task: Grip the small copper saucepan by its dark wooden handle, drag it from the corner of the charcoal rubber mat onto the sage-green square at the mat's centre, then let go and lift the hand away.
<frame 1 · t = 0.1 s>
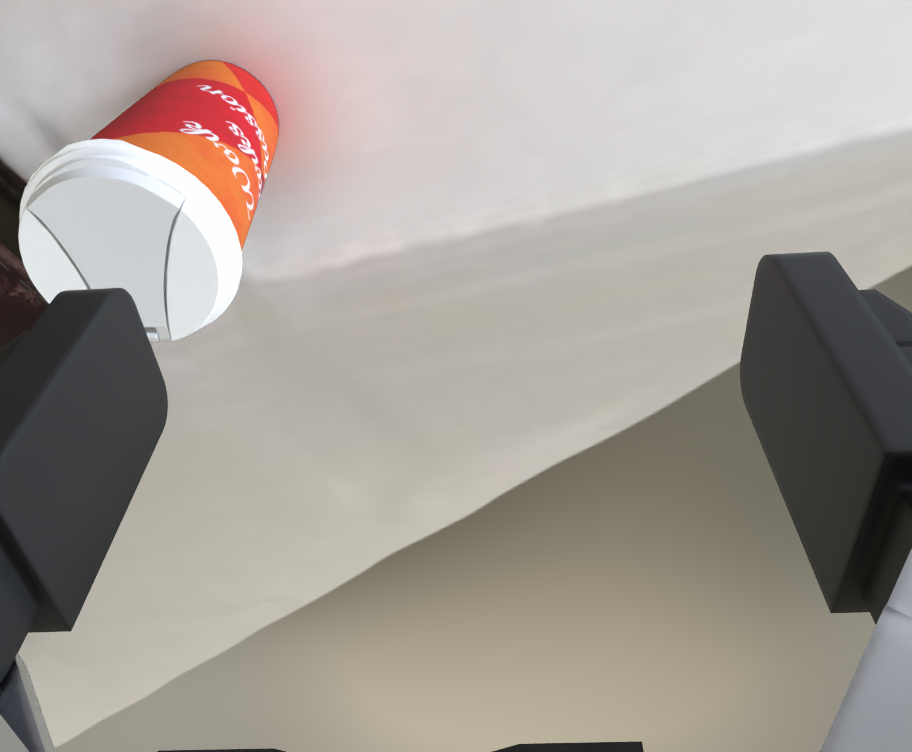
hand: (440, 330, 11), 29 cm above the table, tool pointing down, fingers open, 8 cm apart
paper cup: (222, 116, 39), on the table
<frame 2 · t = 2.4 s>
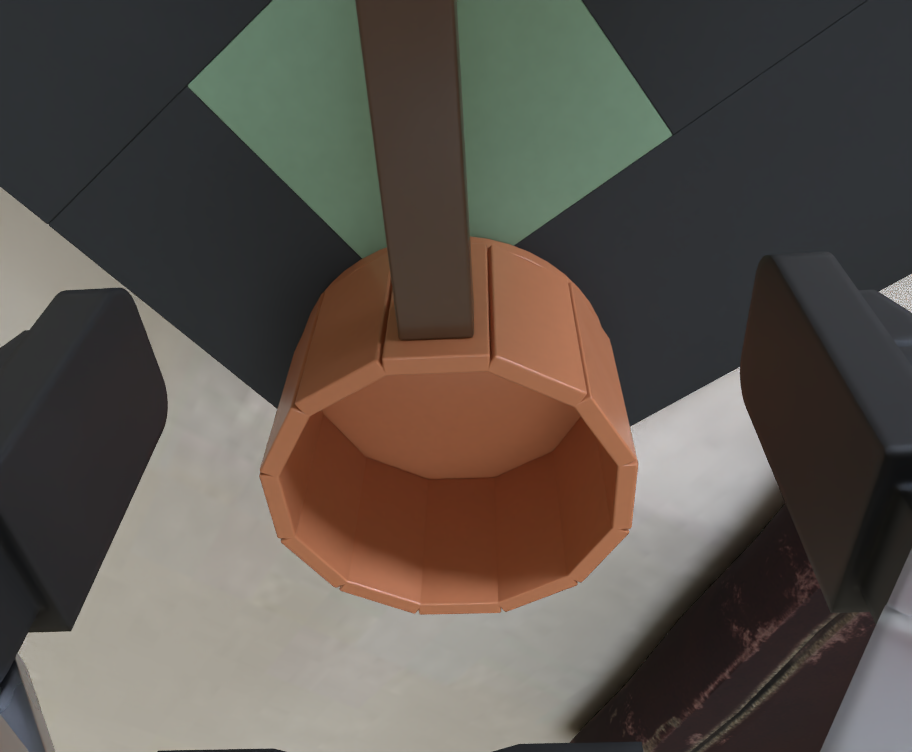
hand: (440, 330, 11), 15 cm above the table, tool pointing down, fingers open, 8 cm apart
saucepan: (453, 370, 29), resting on placemat
placemat: (433, 106, 24), on the table
diary: (834, 641, 40), on the table
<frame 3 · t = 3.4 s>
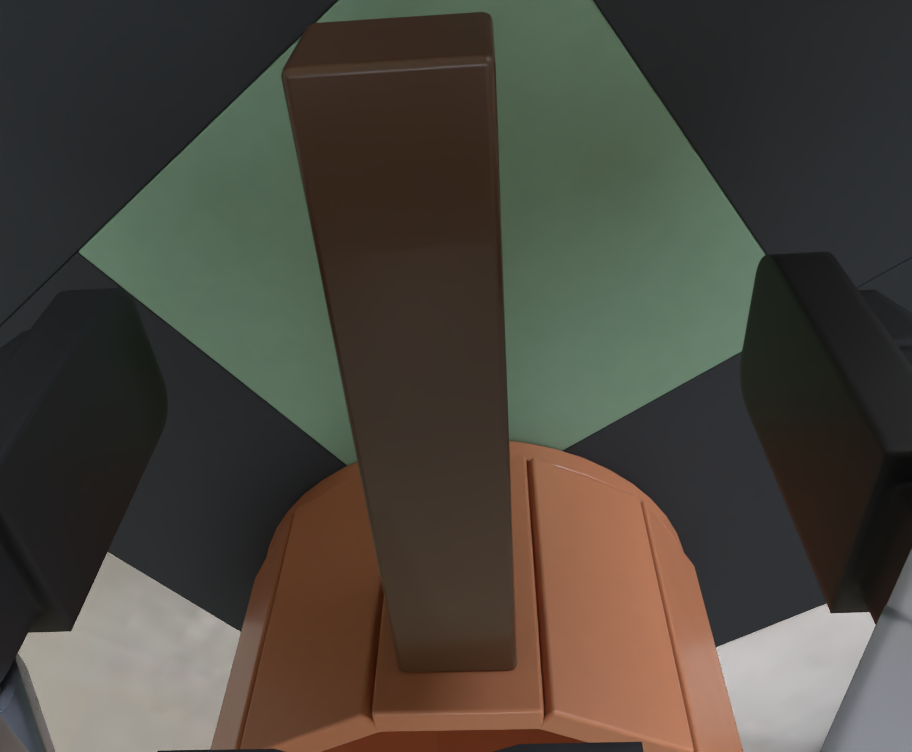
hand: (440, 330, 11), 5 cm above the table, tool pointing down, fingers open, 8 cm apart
saucepan: (474, 589, 21), resting on placemat
placemat: (449, 274, 16), on the table
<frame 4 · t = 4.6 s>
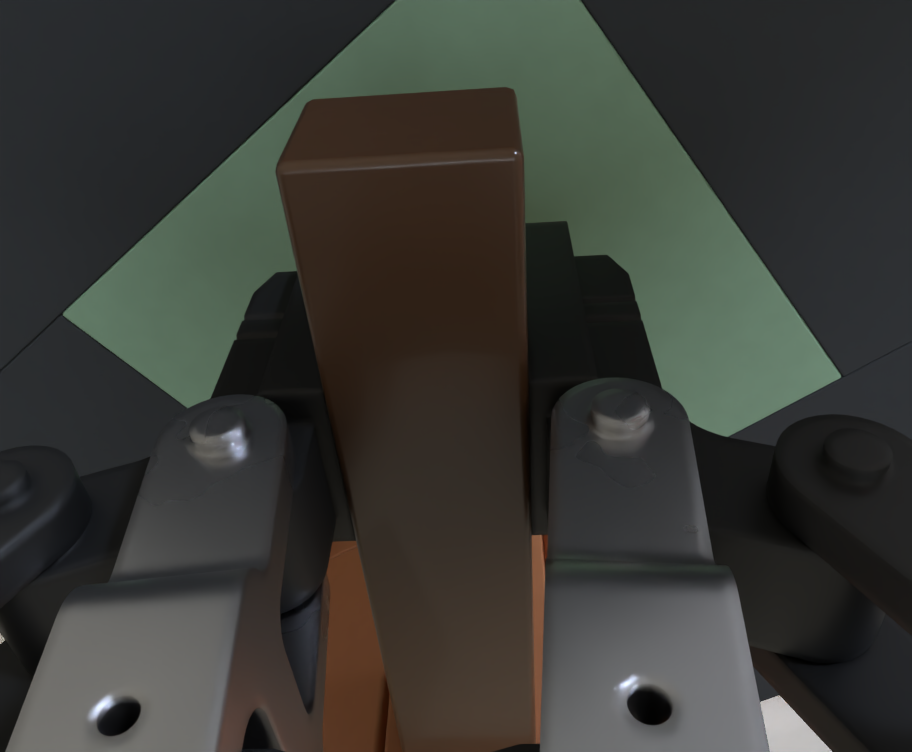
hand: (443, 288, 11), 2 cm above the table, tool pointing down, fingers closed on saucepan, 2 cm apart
saucepan: (485, 653, 20), resting on placemat, touching gripper
placemat: (459, 334, 15), on the table
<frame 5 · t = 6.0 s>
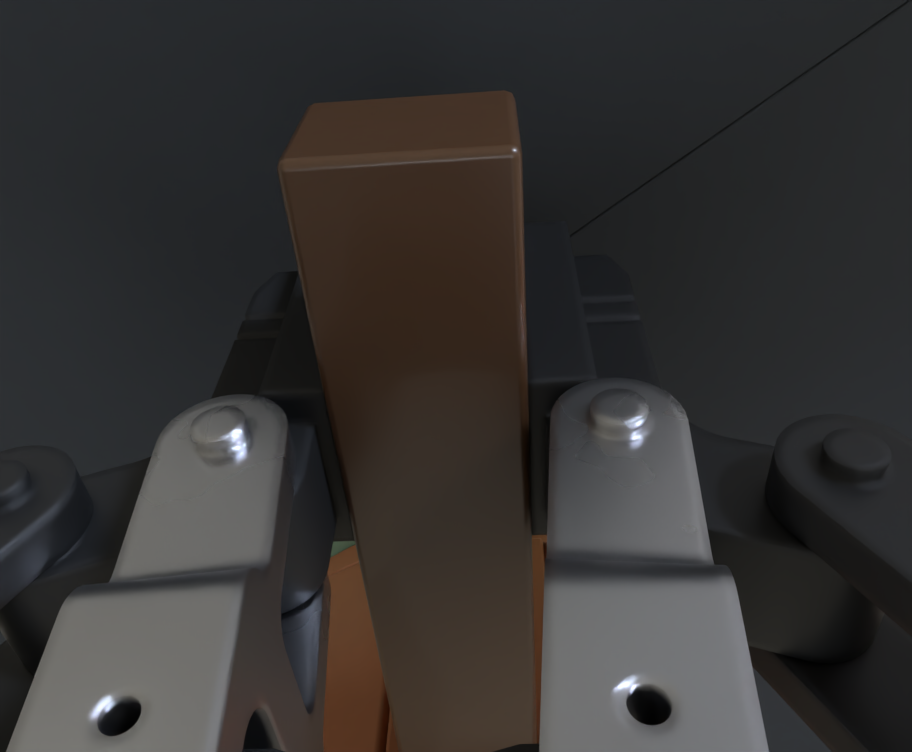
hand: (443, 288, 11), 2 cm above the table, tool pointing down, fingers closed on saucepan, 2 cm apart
saucepan: (486, 673, 20), point 1 cm above the table, touching gripper
placemat: (466, 544, 18), on the table
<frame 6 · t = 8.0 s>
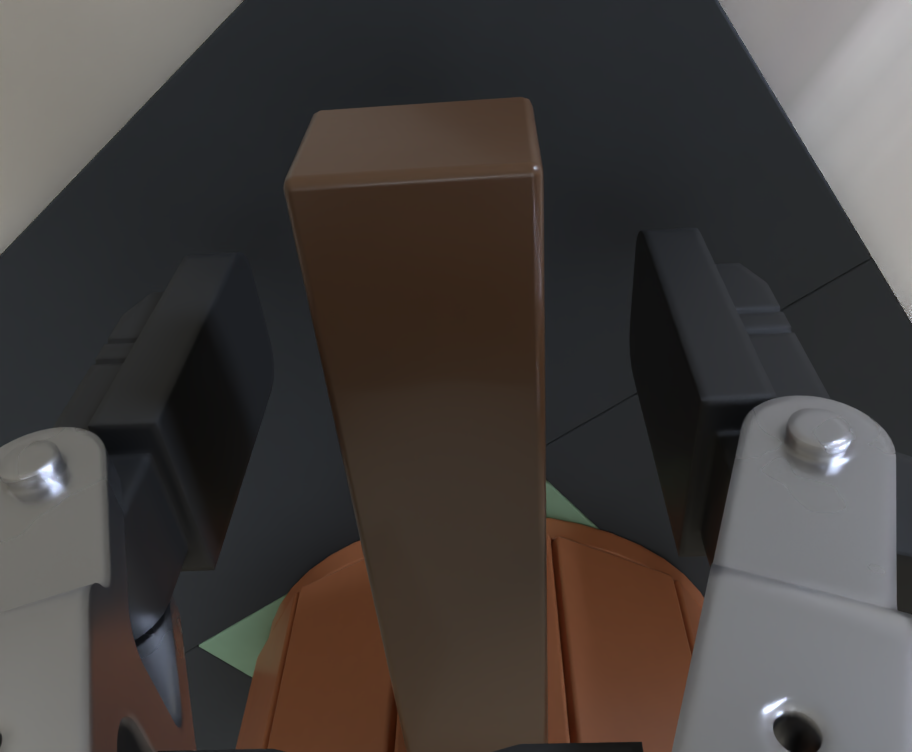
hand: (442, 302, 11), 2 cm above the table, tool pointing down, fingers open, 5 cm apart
saucepan: (492, 664, 20), resting on placemat
placemat: (484, 651, 20), on the table
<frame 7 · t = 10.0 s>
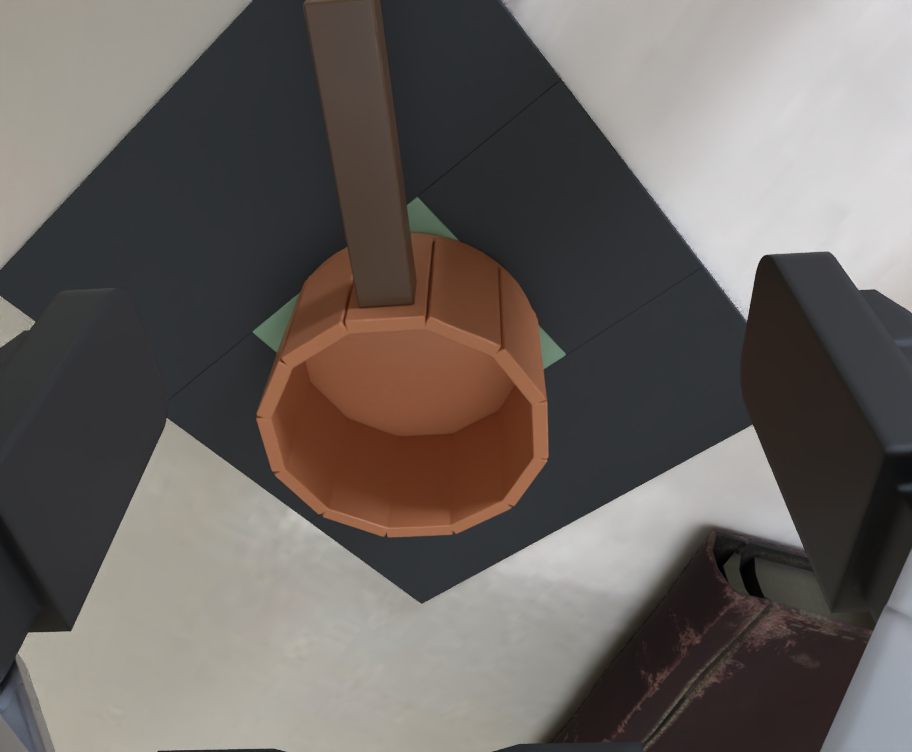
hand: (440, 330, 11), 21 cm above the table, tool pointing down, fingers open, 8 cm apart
saucepan: (414, 343, 36), resting on placemat
placemat: (410, 338, 37), on the table
diary: (734, 679, 52), on the table
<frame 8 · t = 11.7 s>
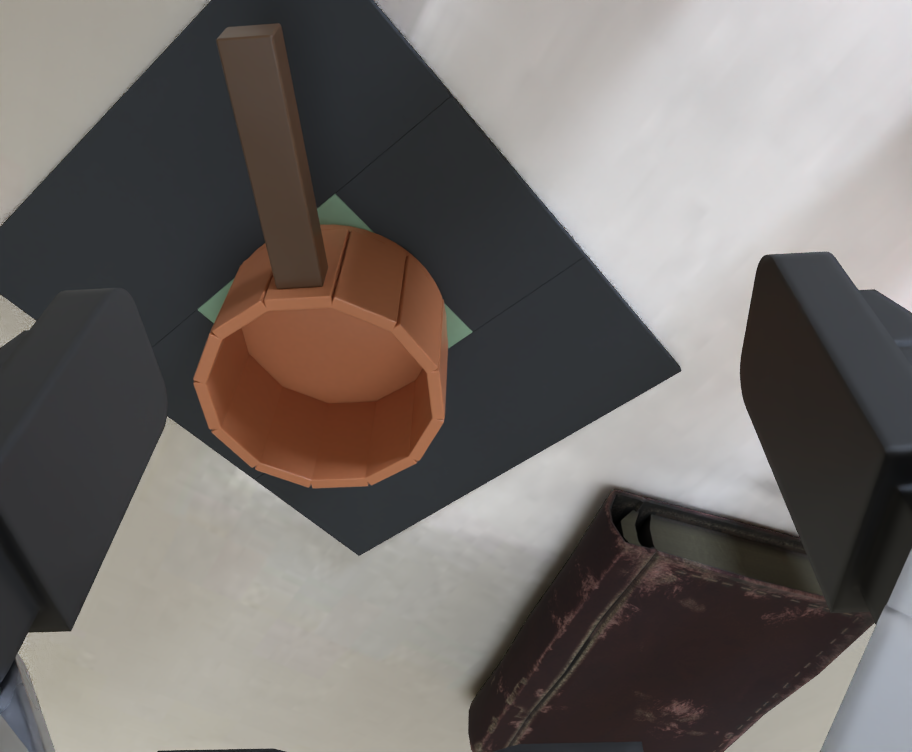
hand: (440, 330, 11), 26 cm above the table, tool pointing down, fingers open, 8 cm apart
saucepan: (339, 320, 42), resting on placemat
placemat: (336, 316, 42), on the table
diary: (645, 627, 58), on the table
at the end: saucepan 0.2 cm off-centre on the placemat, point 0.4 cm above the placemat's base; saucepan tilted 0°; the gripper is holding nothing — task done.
